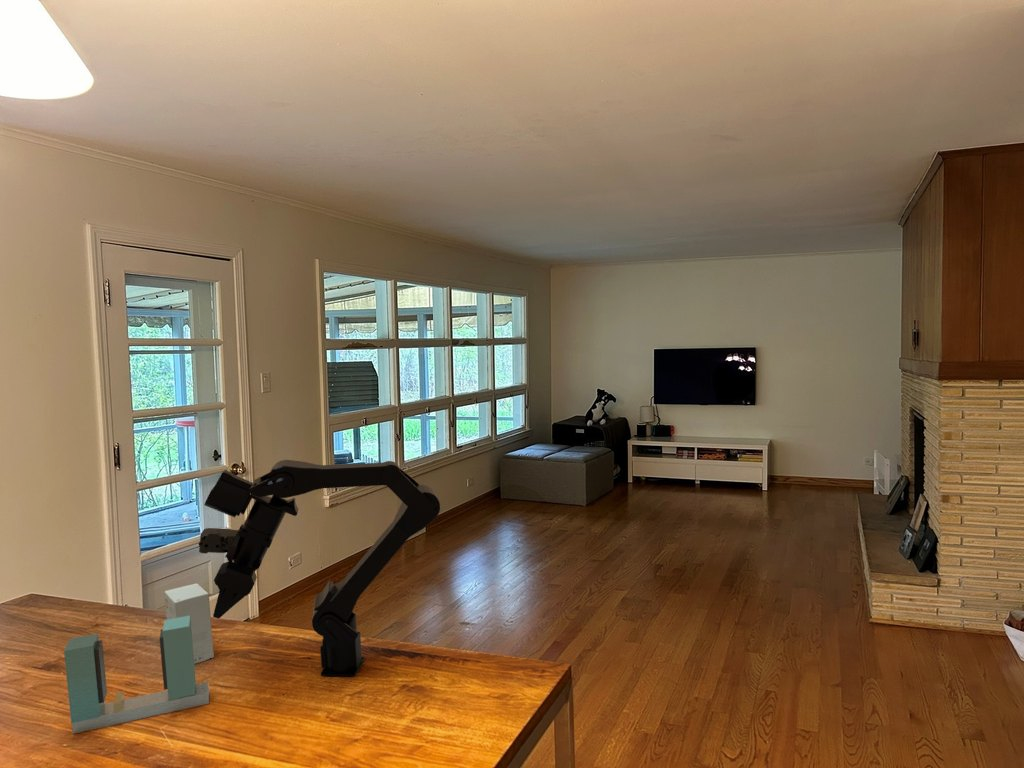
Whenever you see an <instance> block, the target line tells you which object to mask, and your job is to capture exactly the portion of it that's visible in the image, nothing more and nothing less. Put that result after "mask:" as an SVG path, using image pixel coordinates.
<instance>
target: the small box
mask: <svg viewBox="0 0 1024 768" xmlns="http://www.w3.org/2000/svg"><path fill="white" fill-rule="evenodd" d="M164 601H165V602H164V603H165V614H166V615H165V616H166V620H168V619H173V618H179V617H184V616H190V617H191V629H192V641H193V653H194V665H195V664H199V663H202V662H204V661H208V660H211V659H212V658H215V656H214V655H215V653H214V642H213V632H212V631H213V630H212V629H213V628H212V617H211V606H210V605H211V604H210V594H209V592H208V591H206V589H204V588H203V587H202V586H201V585H200V584H199V583H193V584H188V585H184V586H180V587H176V588H171V589H168V590H164ZM210 658H211V659H210Z"/></svg>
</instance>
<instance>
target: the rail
mask: <svg viewBox="0 0 1024 768" xmlns="http://www.w3.org/2000/svg"><path fill="white" fill-rule="evenodd" d="M103 644H104V643H103V640H102V639H101V640H99V633H94V634H87V635H82V636H78V637H72V638H71V637H70V638H69V639H68V642H67V644H66V645H65V648H64V650H63V656H64V662H65V663H64V664H65V665H64V666H65V674H66V675H65V676H66V683H67V684H66V685H67V691H68V692H67V695H68V703H69V704H68V705H69V712H70V713H69V716H70V723H71V724H72V725H71V726H72V727H71V728H72V734H73V735H74V734H78V733H79V734H80V733H83V732H88V731H92V730H97V729H101V728H105V727H111V726H114V725H120V724H125V723H129V722H132V721H137V720H142V719H146V718H150V717H155V716H159V715H165V714H168V713H174V712H177V711H181V710H186V709H187V710H188V709H191V708H195V707H200V706H204V705H209V704H210V686H209V685H210V684H209V681H206V682H205V681H204V682H200V683H196V686H195V695H191V696H187V697H182V698H177V699H173V700H169V699H168V689H165V690H163V691H158V692H153V693H148V694H144V695H139V696H134V697H129V698H125V696H124V691H123V690H122V691H116V693H115V695H114V696H115V697H114V698H113V701H111V702H105V700H106V697H107V693H108V688H107V686H108V685H107V676H106V665H105V656H104V646H103Z"/></svg>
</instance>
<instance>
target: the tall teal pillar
mask: <svg viewBox="0 0 1024 768" xmlns="http://www.w3.org/2000/svg"><path fill="white" fill-rule="evenodd" d="M162 627H163V628H162V629H160V634H159V646H160V647H159V648H160V658H161V669H162V670H161V671H162V681H163V691H166V690H168V699H169V700H173V699H177V698H182V697H187V696H191V695H195V686H196V684H197V678H196V667H195V664H194V653H193V641H192V629H191V617H190V616H184V617H179V618H173V619H168V620H167V619H164V622H163V626H162Z"/></svg>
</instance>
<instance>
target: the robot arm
mask: <svg viewBox="0 0 1024 768" xmlns="http://www.w3.org/2000/svg"><path fill="white" fill-rule="evenodd" d="M374 486H375V487H376V486H386V487H387V488H388V489H390V490H391V491H392V492H393V494H394V495H396V497H398V499H399V500H400V501H401V503H400V506H399V508H398V509H397V512H396V515H395V516H394V519H393V520H392V522H391V523H390V524H389V526H388V527H387V528H386V529H385V530H384V531H383V533H382V534H381V535H380V536H379V537H378V538H377V540H376V541H375V542H374V543H373V545H371V547H370V548H369V549H368V551H367V552H365V554H364V555H363V556H362V558H361V559H359V561H358V562H357V563H356V565H355V566H354V567H352V569H351V570H350V572H348V574H347V575H346V576H345V578H343V579H341V581H339V582H337V583H336V584H334V583H333V581H332V580H328V581H327V583H326V585H325V587H324V588H323V589H322V591H321V592H319V593H317V594H316V595H315V597H314V604H313V609H312V610H313V611H312V619H311V625H312V628H313V630H314V632H315V633H316V634H317V635H319V636H321V637H322V639H321V645H320V647H319V648H320V649H319V651H320V663H321V665H320V666H321V668H322V670H321V671H320V676H322V677H330V676H331V677H355V676H356V675H357V674H358V672H359V671H360V669H361V667H362V666H363V664H364V662H365V660H366V658H365V656H362V640H361V639H362V638H361V631H358V619H357V617H358V616H357V614H356V613H355V612H354V610H355V609H354V608H355V606H356V604H357V602H358V601H359V598H360V596H361V595H362V594H363V593H364V592H365V591H366V589H367V588H369V586H370V585H371V583H373V581H374V580H375V579H376V577H377V576H378V575H379V574H380V573H381V571H383V569H384V568H385V567H386V566H387V564H389V562H390V561H391V559H392V558H394V556H395V555H396V554H397V553H398V552H399V550H400V549H401V547H402V546H403V545H404V544H405V543H406V542H407V540H408V539H409V538H411V537H412V536H415V535H416V534H417V533H419V532H421V531H422V530H423V529H425V528H426V527H427V526H428V525H430V524H431V523H432V522H434V520H436V518H438V516H439V514H440V512H441V504H440V503H441V502H440V500H439V499H438V496H437V494H436V492H435V491H434V489H432V488H431V487H430V486H428V485H424V484H421V485H420V484H419V483H418V482H417V481H416V479H414V478H413V477H412V476H411V475H409V474H408V473H407V472H406V471H404V470H403V469H402V468H401V467H400V465H398V463H396V462H395V461H392V460H388V461H383V462H365V463H364V462H362V463H346V464H344V463H343V464H315V463H312V462H307V461H301V460H294V459H293V460H292V459H282V460H279V461H278V462H276V463H275V464H274V465H273V466H272V467H271V469H270V471H269V472H267V473H266V474H264V475H261V476H260V477H257V478H256V479H254V480H253V482H252V481H251V480H248V479H245V478H244V477H240V476H238V475H235V474H234V473H233V472H231V471H229V470H227V469H225V470H223V471H222V472H221V474H220V476H219V477H218V479H217V482H216V483H215V485H214V486H213V487H212V488H211V490H210V491H209V493H208V495H207V498H206V500H205V502H204V506H205V507H208V508H210V509H211V510H215V511H217V512H220V513H223V514H225V515H227V516H229V517H233V518H236V516H238V517H240V515H245V513H246V511H247V509H248V508H249V505H250V503H251V502H252V500H255V501H254V502H253V504H252V506H251V509H250V510H249V513H248V514H247V517H246V518H245V520H244V523H241V525H240V527H239V529H231V528H216V527H215V528H213V527H206V528H204V529H202V531H201V533H200V537H199V538H200V539H199V542H198V546H199V547H198V549H199V550H198V552H199V554H208V553H212V554H213V553H214V554H215V553H216V554H226V555H225V556H224V557H225V558H227V559H226V560H227V561H226V562H223V563H221V564H220V566H219V569H218V571H217V572H216V574H215V577H214V579H213V583H214V584H215V586H217V589H218V590H219V591H218V594H217V599H216V603H215V606H214V607H215V608H214V609H213V614H212V617H213V618H215V619H220V618H221V617H222V616H224V615H225V614H226V613H228V611H230V610H231V609H232V608H233V607H234V606H235V605H236V604H238V603H239V602H240V601H241V600H243V599H244V598H245V597H247V596H248V595H250V594H251V592H252V590H253V587H254V586H255V583H256V581H257V578H258V577H257V574H256V571H257V570H259V569H260V568H261V566H262V563H263V560H264V557H265V556H266V553H267V551H268V550H269V548H270V547H271V545H272V543H273V541H274V538H275V536H276V533H277V532H278V530H279V528H280V525H281V524H282V522H283V519H284V518H285V516H286V514H289V515H291V516H294V517H297V515H298V513H299V507H298V505H297V502H296V498H295V497H297V496H300V495H304V494H307V493H310V492H313V491H317V490H321V489H335V488H337V489H339V488H355V487H374ZM291 497H292V498H291ZM287 498H291V499H287Z"/></svg>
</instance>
